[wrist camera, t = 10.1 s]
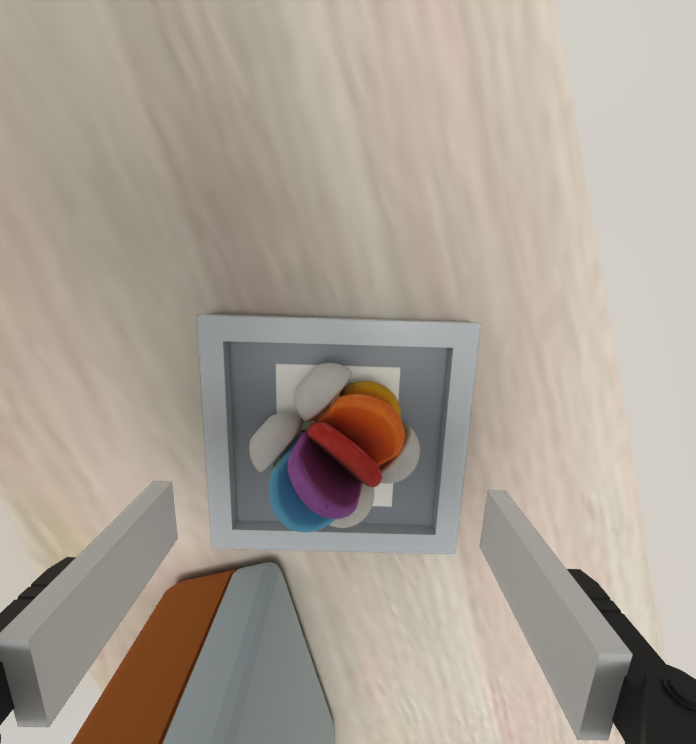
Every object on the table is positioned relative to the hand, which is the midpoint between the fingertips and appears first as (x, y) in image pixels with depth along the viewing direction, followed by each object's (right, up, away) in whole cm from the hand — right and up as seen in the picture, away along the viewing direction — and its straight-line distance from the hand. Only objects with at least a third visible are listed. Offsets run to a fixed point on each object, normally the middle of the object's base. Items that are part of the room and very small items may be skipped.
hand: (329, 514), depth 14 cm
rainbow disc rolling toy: (0, +2, +9) cm, 9 cm away
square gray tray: (0, +2, +10) cm, 10 cm away
